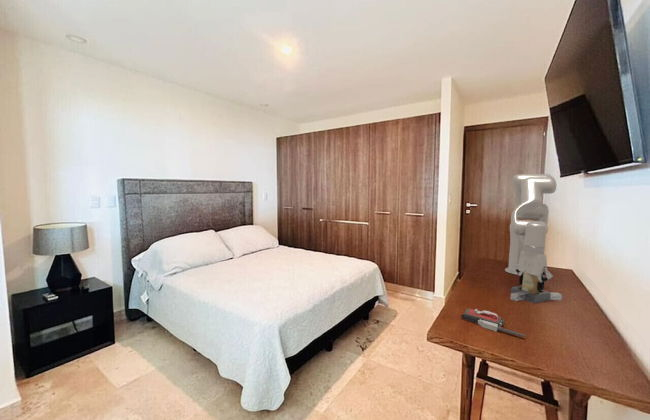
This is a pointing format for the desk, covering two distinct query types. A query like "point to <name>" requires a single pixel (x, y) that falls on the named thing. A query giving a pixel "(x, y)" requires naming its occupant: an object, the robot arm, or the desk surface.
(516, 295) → the block
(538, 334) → the desk surface
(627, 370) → the desk surface
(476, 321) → the toy chainsaw
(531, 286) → the skincare box
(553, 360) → the desk surface
